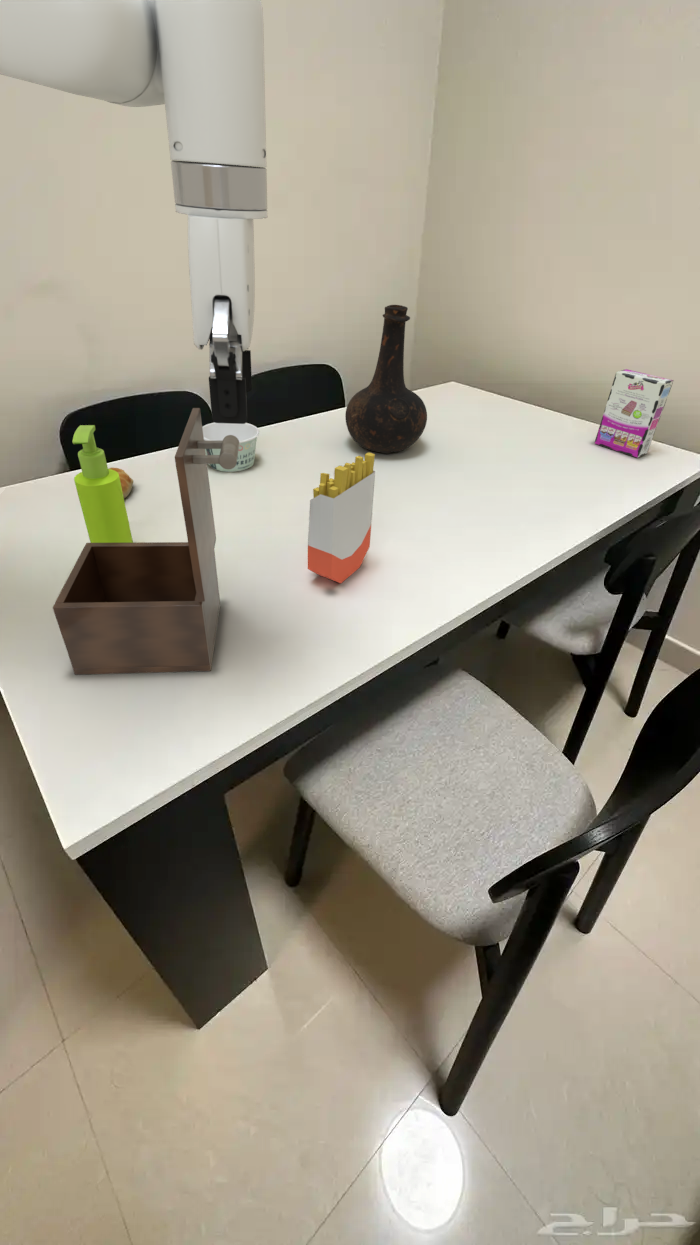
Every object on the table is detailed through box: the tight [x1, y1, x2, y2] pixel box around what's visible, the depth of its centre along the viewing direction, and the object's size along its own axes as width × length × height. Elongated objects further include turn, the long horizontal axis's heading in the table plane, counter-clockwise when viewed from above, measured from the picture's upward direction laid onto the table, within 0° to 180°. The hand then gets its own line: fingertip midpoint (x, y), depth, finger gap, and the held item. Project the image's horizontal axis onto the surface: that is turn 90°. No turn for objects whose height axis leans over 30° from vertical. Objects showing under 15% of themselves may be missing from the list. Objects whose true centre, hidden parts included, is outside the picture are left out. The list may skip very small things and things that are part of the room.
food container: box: [202, 422, 260, 473], centre depth 117 cm, size 12×12×6 cm
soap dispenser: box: [71, 424, 134, 543], centre depth 83 cm, size 6×7×20 cm
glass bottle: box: [345, 304, 428, 454], centre depth 122 cm, size 18×18×28 cm
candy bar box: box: [594, 368, 675, 459], centre depth 131 cm, size 11×5×16 cm, turn 42°
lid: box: [174, 407, 239, 602], centre depth 64 cm, size 17×14×5 cm
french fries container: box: [307, 451, 376, 584], centre depth 83 cm, size 5×11×18 cm, turn 148°
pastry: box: [108, 467, 134, 500], centre depth 104 cm, size 9×7×4 cm
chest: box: [52, 541, 221, 675], centre depth 72 cm, size 16×14×10 cm
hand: (233, 405), depth 58 cm, fingers open, 9 cm apart
